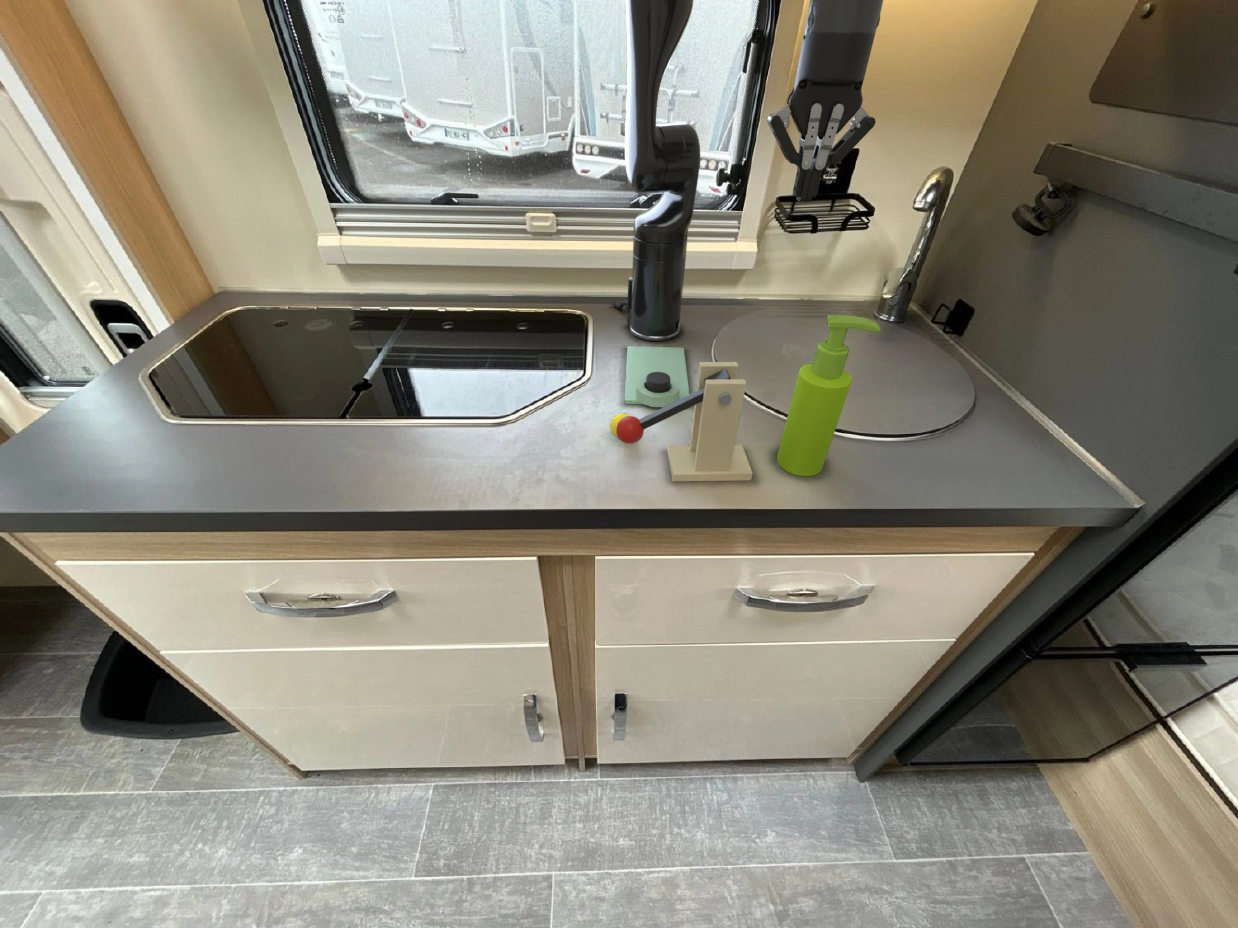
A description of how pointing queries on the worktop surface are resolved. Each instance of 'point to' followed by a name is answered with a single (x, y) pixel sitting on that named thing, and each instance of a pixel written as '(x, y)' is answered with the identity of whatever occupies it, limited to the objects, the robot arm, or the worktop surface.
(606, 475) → the worktop surface
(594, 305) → the worktop surface
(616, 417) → the yellow rounded piece
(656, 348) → the button block
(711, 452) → the bracket
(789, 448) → the soap dispenser
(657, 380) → the button
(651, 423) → the lever
